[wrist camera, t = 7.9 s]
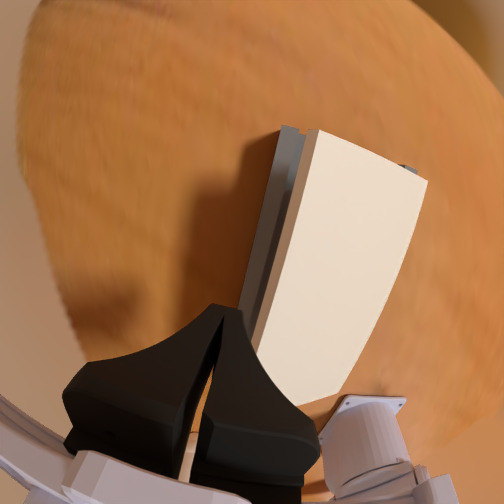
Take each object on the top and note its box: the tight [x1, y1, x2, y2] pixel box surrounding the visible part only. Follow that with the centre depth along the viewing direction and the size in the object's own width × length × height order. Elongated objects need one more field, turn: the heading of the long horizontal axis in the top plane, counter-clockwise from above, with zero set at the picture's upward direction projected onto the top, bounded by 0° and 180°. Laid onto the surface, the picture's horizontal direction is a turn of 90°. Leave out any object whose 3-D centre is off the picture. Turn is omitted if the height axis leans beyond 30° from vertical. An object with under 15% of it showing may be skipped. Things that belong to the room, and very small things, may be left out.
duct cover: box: [251, 129, 428, 406], centre depth 15 cm, size 17×9×1 cm, turn 167°
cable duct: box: [238, 125, 418, 341], centre depth 19 cm, size 18×9×3 cm, turn 167°
